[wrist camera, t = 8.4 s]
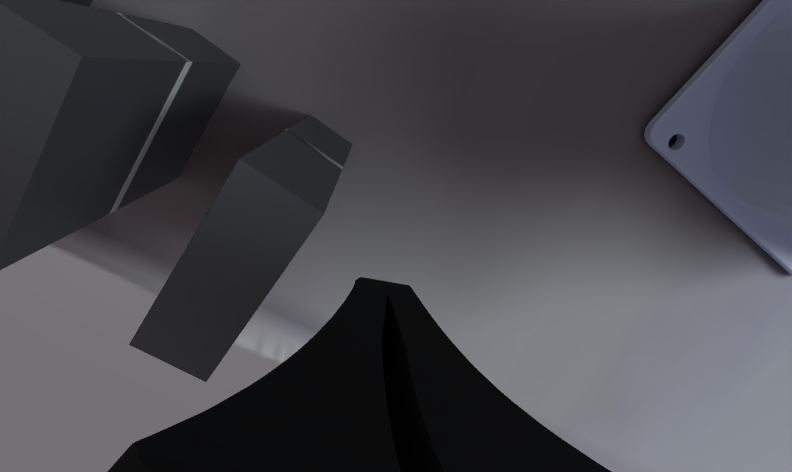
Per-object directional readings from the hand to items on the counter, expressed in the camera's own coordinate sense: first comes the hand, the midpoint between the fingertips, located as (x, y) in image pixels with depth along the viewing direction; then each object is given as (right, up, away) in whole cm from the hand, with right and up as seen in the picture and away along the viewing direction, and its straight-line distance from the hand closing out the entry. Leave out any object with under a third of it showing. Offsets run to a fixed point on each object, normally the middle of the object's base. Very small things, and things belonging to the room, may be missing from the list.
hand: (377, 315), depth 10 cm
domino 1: (-6, +6, +3) cm, 9 cm away
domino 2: (-3, +4, +4) cm, 6 cm away
